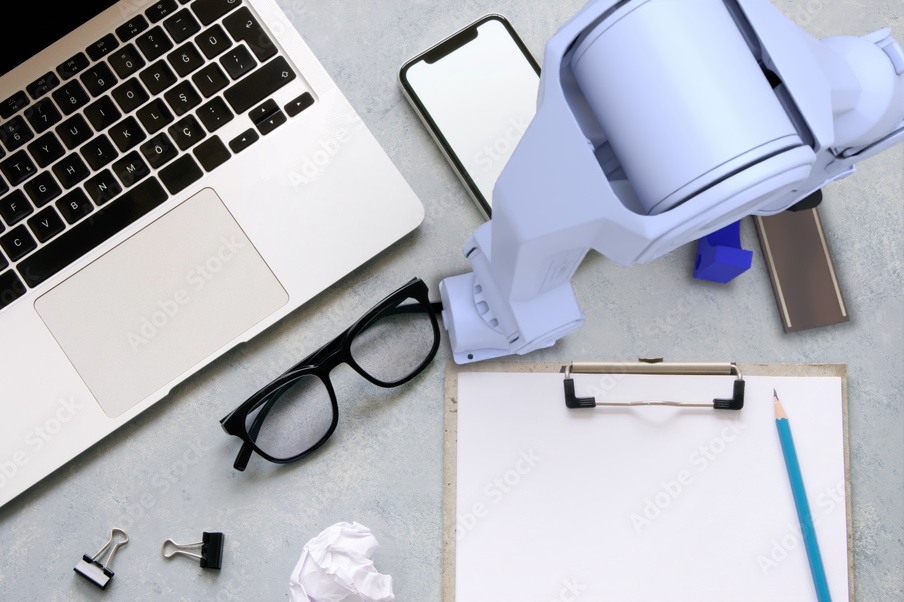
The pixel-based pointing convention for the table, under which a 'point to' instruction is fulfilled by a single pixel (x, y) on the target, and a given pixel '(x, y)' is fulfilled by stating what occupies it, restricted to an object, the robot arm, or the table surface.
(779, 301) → the inlay
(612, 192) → the robot arm
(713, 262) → the cable clip
